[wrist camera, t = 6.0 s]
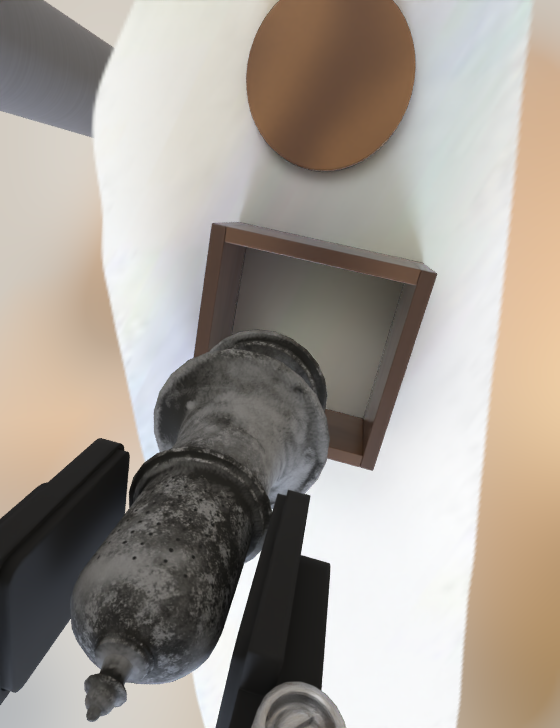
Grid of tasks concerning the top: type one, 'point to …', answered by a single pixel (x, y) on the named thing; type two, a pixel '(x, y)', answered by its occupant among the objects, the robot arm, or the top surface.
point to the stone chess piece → (199, 510)
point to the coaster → (330, 79)
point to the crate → (229, 241)
